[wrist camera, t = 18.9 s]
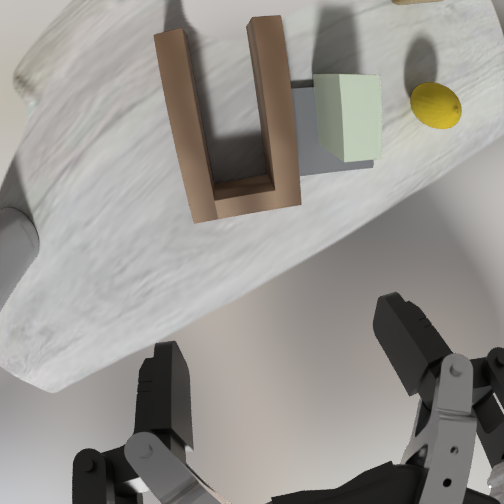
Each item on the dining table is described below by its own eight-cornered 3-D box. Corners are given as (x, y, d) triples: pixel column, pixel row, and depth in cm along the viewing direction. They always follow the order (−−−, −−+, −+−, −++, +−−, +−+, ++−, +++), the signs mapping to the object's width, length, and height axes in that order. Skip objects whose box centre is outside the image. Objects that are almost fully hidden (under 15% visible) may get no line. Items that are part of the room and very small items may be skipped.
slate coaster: (293, 174, 33) (294, 176, 32) (284, 88, 27) (285, 89, 27) (370, 165, 33) (373, 167, 32) (368, 86, 28) (371, 86, 27)
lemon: (412, 70, 26) (455, 76, 20) (437, 99, 28) (479, 112, 22) (391, 101, 29) (432, 113, 22) (417, 129, 31) (458, 146, 24)
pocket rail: (196, 203, 33) (193, 223, 29) (162, 41, 23) (153, 34, 19) (289, 187, 34) (301, 204, 30) (270, 24, 23) (280, 15, 19)
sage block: (319, 144, 30) (344, 162, 24) (312, 74, 26) (338, 74, 20) (351, 141, 30) (381, 158, 25) (347, 73, 26) (379, 75, 20)
